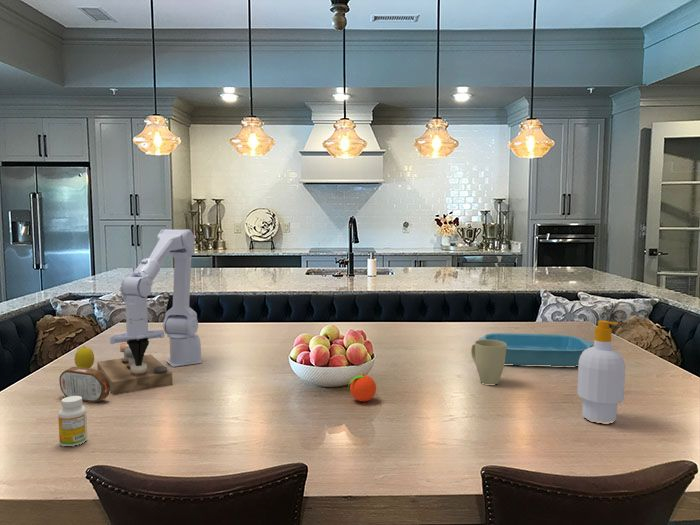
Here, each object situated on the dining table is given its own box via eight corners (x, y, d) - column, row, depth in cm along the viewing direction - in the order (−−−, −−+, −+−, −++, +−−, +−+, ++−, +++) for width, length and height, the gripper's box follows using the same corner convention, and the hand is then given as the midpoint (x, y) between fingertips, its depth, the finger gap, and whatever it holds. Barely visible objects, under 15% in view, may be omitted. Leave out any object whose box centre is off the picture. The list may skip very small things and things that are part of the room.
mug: (508, 380, 163) (509, 340, 162) (502, 389, 154) (503, 348, 153) (471, 375, 168) (472, 336, 167) (463, 384, 159) (464, 344, 158)
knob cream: (145, 379, 161) (144, 362, 160) (148, 383, 157) (148, 365, 157) (129, 381, 158) (128, 364, 158) (132, 385, 155) (132, 367, 154)
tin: (111, 401, 144) (110, 370, 144) (102, 405, 141) (101, 373, 141) (67, 394, 149) (66, 364, 148) (57, 398, 146) (56, 367, 145)
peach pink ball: (134, 358, 172) (133, 341, 172) (137, 361, 168) (136, 344, 168) (119, 360, 170) (118, 343, 169) (122, 363, 166) (121, 346, 165)
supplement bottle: (66, 437, 121) (64, 394, 120) (91, 436, 122) (89, 394, 121) (55, 447, 116) (53, 403, 115) (81, 447, 116) (79, 402, 115)
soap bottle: (619, 431, 126) (625, 327, 123) (572, 422, 131) (576, 322, 129) (624, 417, 134) (629, 320, 132) (579, 408, 140) (584, 315, 138)
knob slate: (139, 363, 166) (138, 346, 166) (142, 366, 163) (142, 349, 162) (123, 365, 164) (123, 348, 163) (127, 369, 160) (126, 351, 160)
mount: (151, 364, 178) (150, 350, 177) (172, 384, 158) (171, 368, 158) (97, 372, 169) (97, 357, 169) (112, 394, 149) (112, 377, 149)
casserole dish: (482, 368, 177) (482, 346, 176) (475, 350, 199) (475, 331, 198) (601, 372, 172) (602, 350, 172) (581, 354, 194) (582, 334, 194)
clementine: (354, 407, 140) (354, 380, 139) (341, 399, 146) (342, 373, 146) (381, 402, 144) (381, 376, 143) (368, 394, 150) (368, 369, 149)
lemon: (87, 374, 167) (85, 348, 167) (71, 373, 169) (69, 347, 168) (98, 369, 173) (97, 344, 172) (83, 368, 174) (82, 343, 173)
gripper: (112, 323, 149) (114, 372, 150) (166, 318, 157) (168, 364, 158) (107, 319, 154) (109, 366, 156) (160, 314, 162) (161, 358, 164)
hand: (138, 365), depth 157 cm, fingers closed, pressing on knob cream
